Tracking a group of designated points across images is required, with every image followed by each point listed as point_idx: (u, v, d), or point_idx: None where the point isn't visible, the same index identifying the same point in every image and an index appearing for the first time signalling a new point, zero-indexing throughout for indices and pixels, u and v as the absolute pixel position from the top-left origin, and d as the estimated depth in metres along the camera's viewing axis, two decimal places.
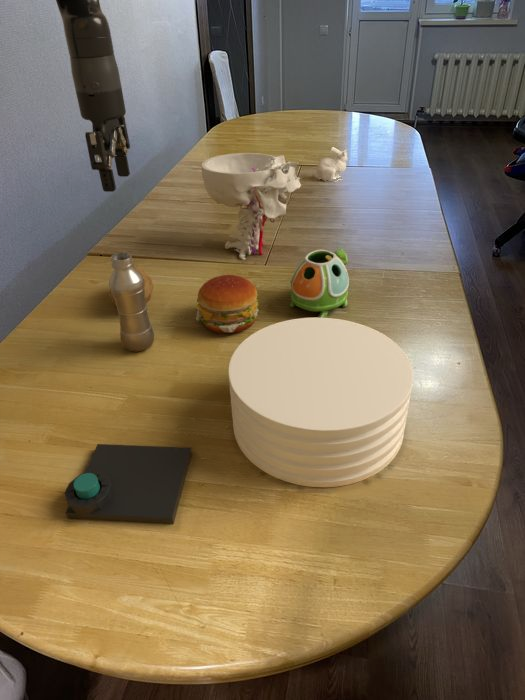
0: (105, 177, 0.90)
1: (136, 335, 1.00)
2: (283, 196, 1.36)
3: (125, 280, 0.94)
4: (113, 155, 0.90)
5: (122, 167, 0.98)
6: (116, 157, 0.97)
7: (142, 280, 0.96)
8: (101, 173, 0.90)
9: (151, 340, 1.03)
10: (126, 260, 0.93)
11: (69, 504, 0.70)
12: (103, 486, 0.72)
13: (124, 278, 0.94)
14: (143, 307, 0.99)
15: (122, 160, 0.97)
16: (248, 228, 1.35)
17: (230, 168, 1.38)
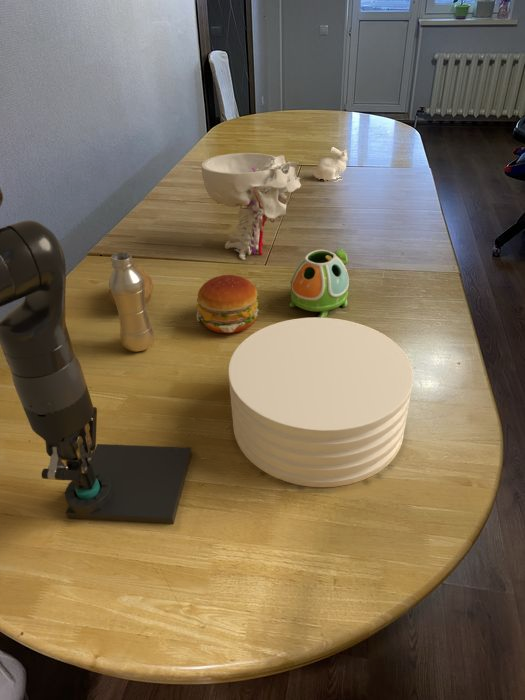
0: (79, 480, 0.69)
1: (136, 335, 1.00)
2: (283, 196, 1.36)
3: (125, 280, 0.94)
4: (85, 458, 0.67)
5: None
6: None
7: (142, 280, 0.96)
8: None
9: (151, 340, 1.03)
10: (126, 260, 0.93)
11: (69, 504, 0.70)
12: (103, 486, 0.72)
13: (124, 278, 0.94)
14: (143, 307, 0.99)
15: None
16: (248, 228, 1.35)
17: (230, 168, 1.38)
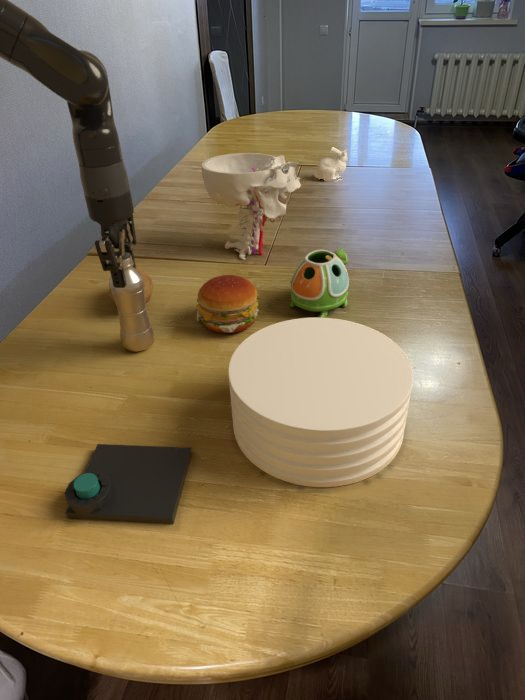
0: (116, 276, 0.91)
1: (136, 335, 1.00)
2: (283, 196, 1.36)
3: None
4: (123, 254, 0.90)
5: None
6: None
7: (142, 280, 0.96)
8: (112, 272, 0.91)
9: (151, 340, 1.03)
10: (126, 260, 0.93)
11: (69, 504, 0.70)
12: (103, 486, 0.72)
13: None
14: (143, 307, 0.99)
15: None
16: (248, 228, 1.35)
17: (230, 168, 1.38)
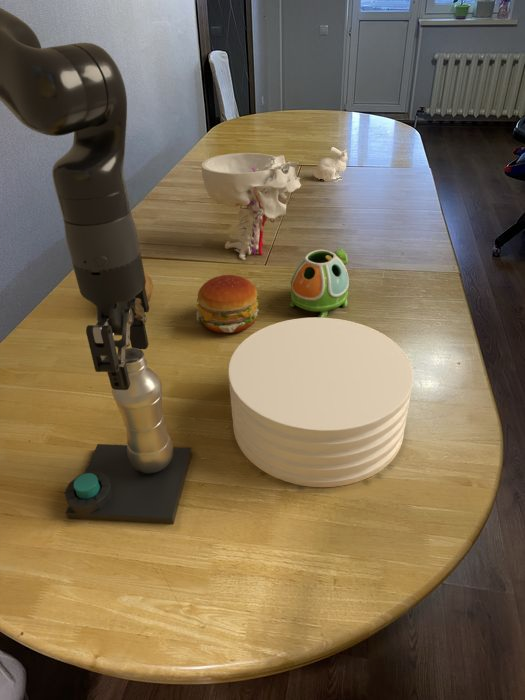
0: (115, 376, 0.61)
1: (150, 455, 0.73)
2: (283, 196, 1.36)
3: (135, 388, 0.66)
4: (127, 345, 0.61)
5: (138, 339, 0.69)
6: (130, 327, 0.68)
7: (159, 385, 0.69)
8: (109, 371, 0.61)
9: (169, 458, 0.75)
10: (137, 363, 0.65)
11: (69, 504, 0.70)
12: (103, 486, 0.72)
13: (134, 386, 0.66)
14: (159, 419, 0.71)
15: (138, 331, 0.69)
16: (248, 228, 1.35)
17: (230, 168, 1.38)
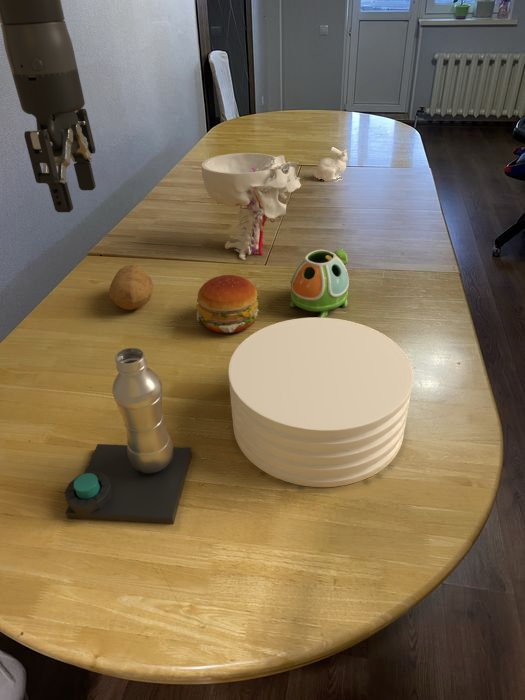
0: (57, 193, 0.65)
1: (150, 455, 0.73)
2: (283, 196, 1.36)
3: (135, 388, 0.66)
4: (68, 163, 0.65)
5: (85, 178, 0.73)
6: (76, 165, 0.72)
7: (159, 386, 0.69)
8: (51, 188, 0.65)
9: (169, 458, 0.75)
10: (137, 363, 0.65)
11: (69, 504, 0.70)
12: (103, 486, 0.72)
13: (135, 386, 0.66)
14: (160, 419, 0.71)
15: (84, 169, 0.73)
16: (248, 228, 1.35)
17: (230, 168, 1.38)
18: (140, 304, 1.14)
